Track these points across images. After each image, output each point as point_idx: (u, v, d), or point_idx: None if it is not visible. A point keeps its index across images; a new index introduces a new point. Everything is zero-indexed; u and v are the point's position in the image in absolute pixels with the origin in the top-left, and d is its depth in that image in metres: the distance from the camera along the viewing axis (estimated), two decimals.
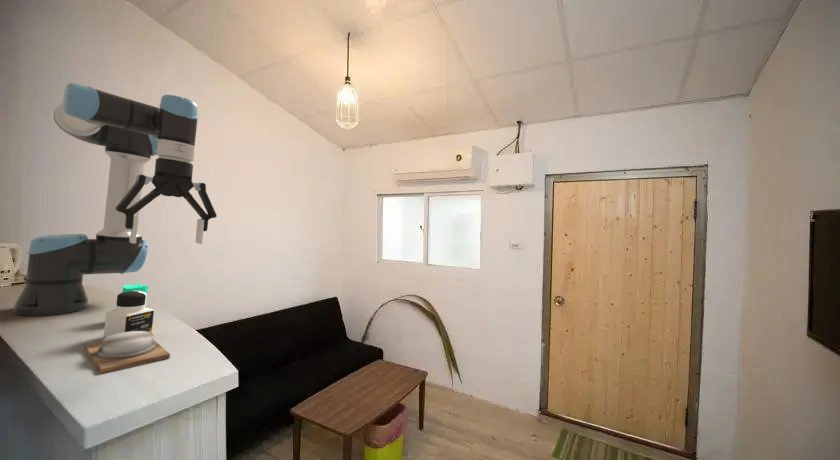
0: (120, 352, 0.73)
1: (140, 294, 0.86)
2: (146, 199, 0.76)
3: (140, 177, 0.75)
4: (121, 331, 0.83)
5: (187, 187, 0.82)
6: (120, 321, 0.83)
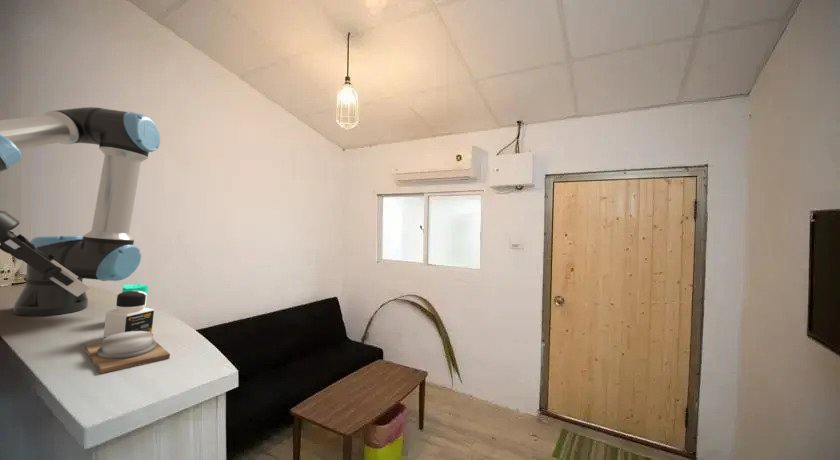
0: (120, 352, 0.73)
1: (140, 294, 0.86)
2: None
3: None
4: (121, 331, 0.83)
5: None
6: (120, 321, 0.83)
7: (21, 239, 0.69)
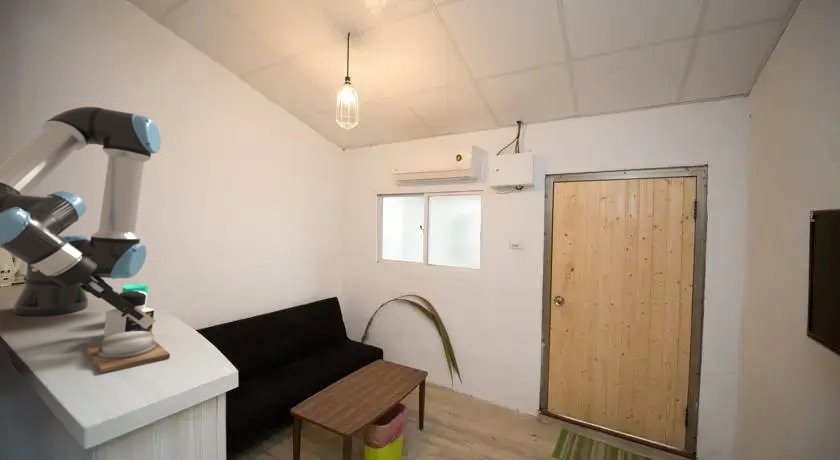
0: (120, 352, 0.73)
1: (140, 294, 0.86)
2: None
3: None
4: (121, 331, 0.83)
5: (89, 288, 0.78)
6: (120, 321, 0.83)
7: (99, 280, 0.79)
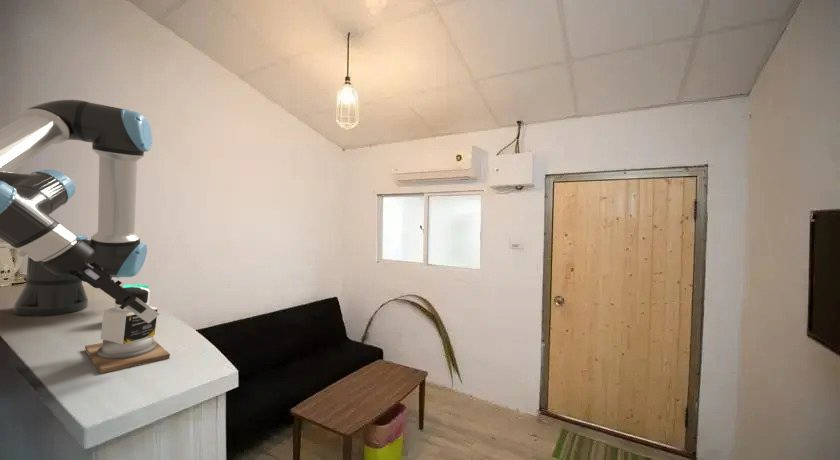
0: (120, 352, 0.73)
1: (142, 291, 0.76)
2: None
3: None
4: (120, 333, 0.72)
5: None
6: (119, 321, 0.73)
7: (96, 267, 0.69)
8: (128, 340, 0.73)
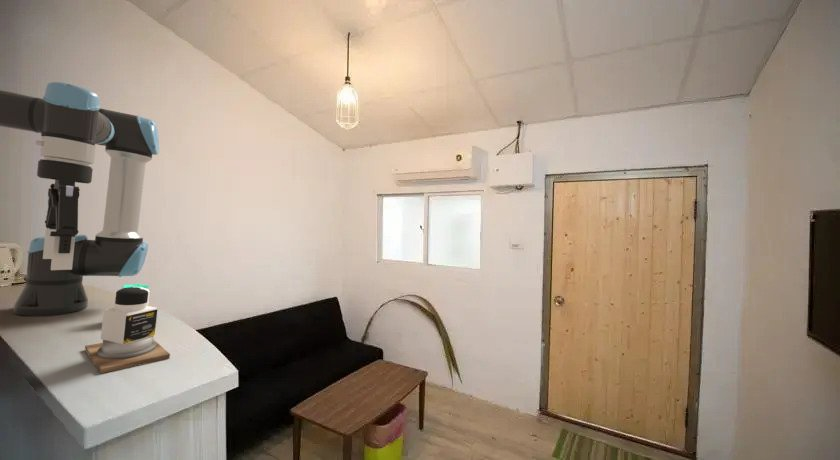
0: (120, 352, 0.73)
1: (142, 291, 0.76)
2: (49, 210, 0.68)
3: (51, 186, 0.68)
4: (120, 333, 0.72)
5: (57, 193, 0.63)
6: (119, 321, 0.73)
7: None
8: (128, 340, 0.73)
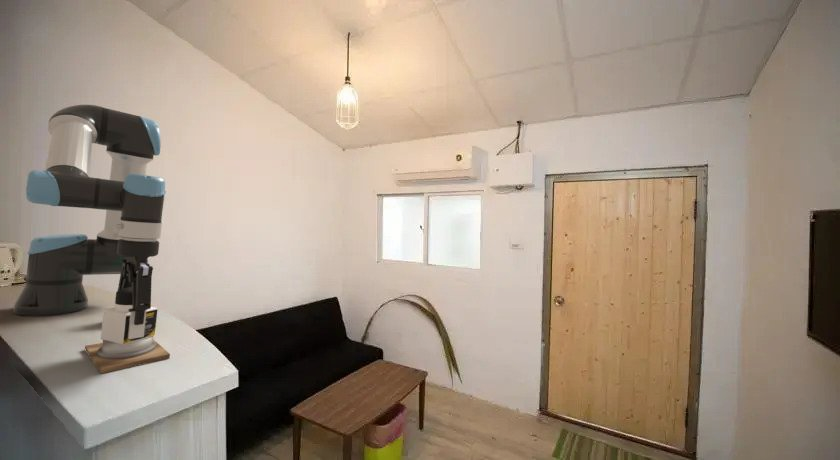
0: (120, 352, 0.73)
1: None
2: (123, 283, 0.78)
3: (122, 261, 0.79)
4: (120, 333, 0.72)
5: (134, 267, 0.74)
6: (119, 321, 0.73)
7: None
8: (128, 340, 0.73)
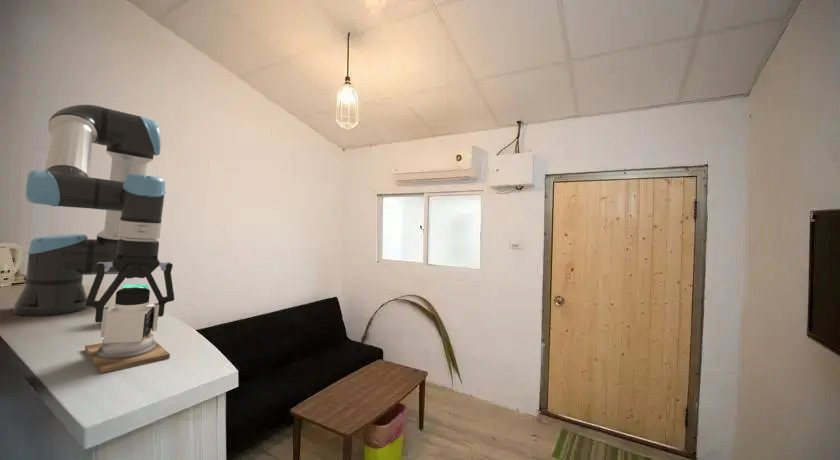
0: (120, 352, 0.73)
1: (146, 289, 0.78)
2: (111, 288, 0.73)
3: (97, 267, 0.71)
4: (137, 331, 0.74)
5: (151, 266, 0.77)
6: (134, 320, 0.74)
7: None
8: (144, 337, 0.76)
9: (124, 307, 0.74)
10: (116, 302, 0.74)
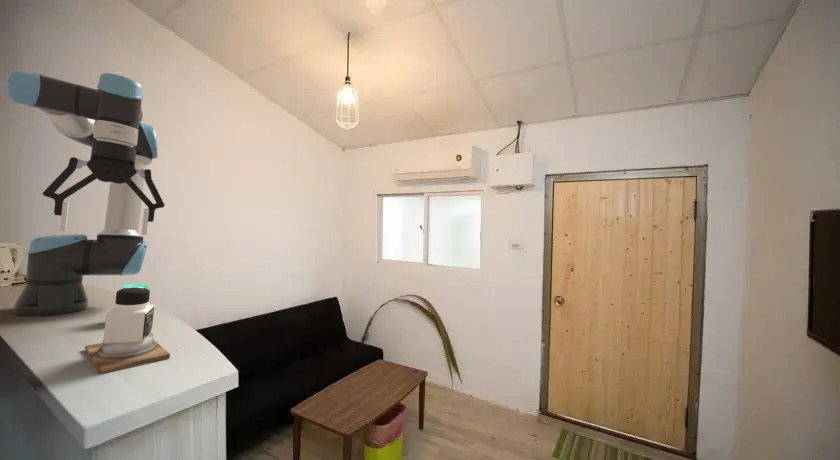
0: (120, 352, 0.73)
1: (146, 289, 0.78)
2: (78, 184, 0.70)
3: (71, 160, 0.69)
4: (137, 331, 0.74)
5: (128, 173, 0.76)
6: (134, 320, 0.74)
7: None
8: (144, 336, 0.76)
9: (124, 307, 0.74)
10: (116, 302, 0.74)
